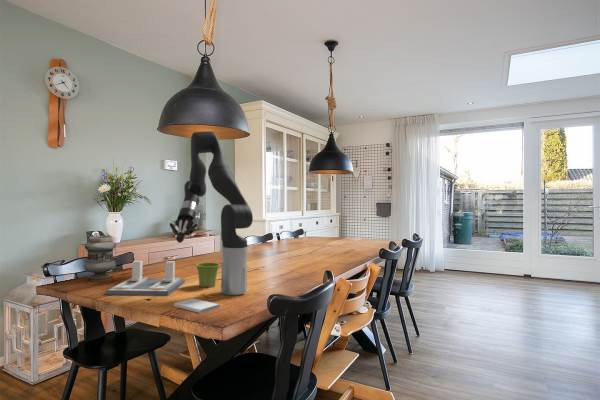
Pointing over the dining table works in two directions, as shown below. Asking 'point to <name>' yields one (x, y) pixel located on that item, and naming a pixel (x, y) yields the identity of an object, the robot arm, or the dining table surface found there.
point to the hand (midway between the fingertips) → (179, 241)
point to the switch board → (146, 287)
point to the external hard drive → (196, 305)
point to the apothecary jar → (100, 257)
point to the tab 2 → (169, 271)
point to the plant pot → (207, 274)
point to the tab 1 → (137, 270)
